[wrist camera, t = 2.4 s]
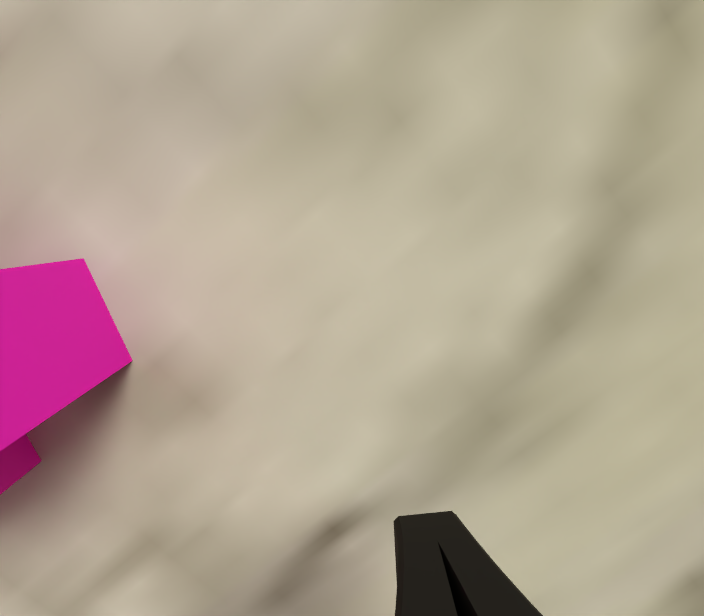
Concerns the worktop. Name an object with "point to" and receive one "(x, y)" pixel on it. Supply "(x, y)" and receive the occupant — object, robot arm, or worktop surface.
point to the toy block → (49, 352)
